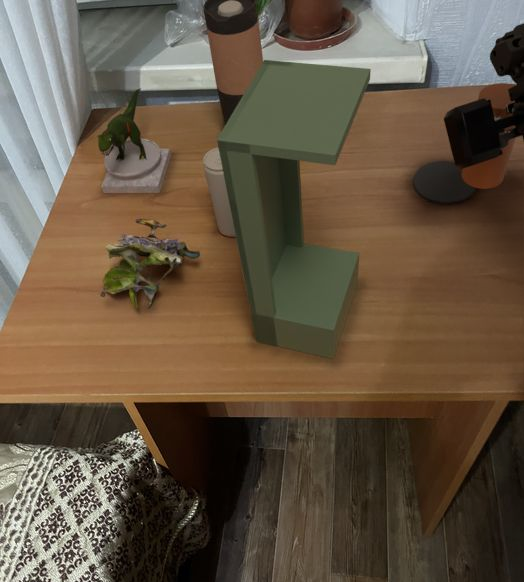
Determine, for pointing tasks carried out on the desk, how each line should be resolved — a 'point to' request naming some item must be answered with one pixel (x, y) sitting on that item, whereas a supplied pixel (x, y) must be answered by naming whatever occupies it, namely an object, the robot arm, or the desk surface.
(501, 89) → the tea tin
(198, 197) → the desk surface
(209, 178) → the beverage can
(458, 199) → the coaster
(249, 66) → the travel mug
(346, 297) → the green c-shaped stand
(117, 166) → the dinosaur figurine
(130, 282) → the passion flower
